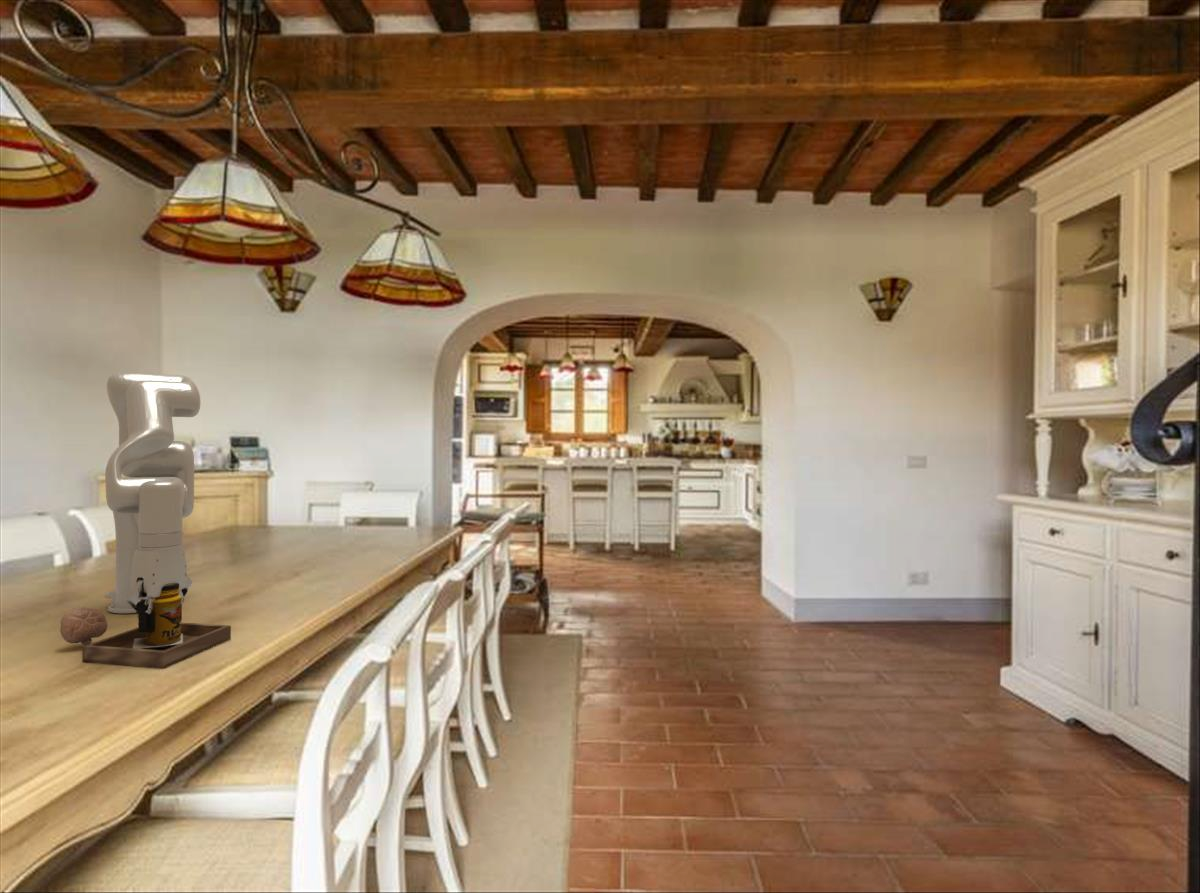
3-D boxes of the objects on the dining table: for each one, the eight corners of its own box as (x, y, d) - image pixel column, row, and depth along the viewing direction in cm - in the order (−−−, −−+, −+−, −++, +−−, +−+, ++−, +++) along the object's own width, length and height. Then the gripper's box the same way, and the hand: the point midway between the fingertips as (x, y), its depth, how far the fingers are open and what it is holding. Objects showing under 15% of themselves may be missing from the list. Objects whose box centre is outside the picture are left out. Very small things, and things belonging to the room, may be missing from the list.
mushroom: (110, 639, 142) (109, 602, 142) (103, 648, 136) (103, 609, 136) (65, 644, 138) (65, 606, 138) (57, 653, 133) (57, 613, 133)
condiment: (183, 644, 135) (183, 585, 134) (132, 650, 130) (132, 590, 130) (182, 634, 141) (183, 578, 141) (134, 640, 136) (134, 582, 136)
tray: (82, 661, 128) (82, 646, 128) (157, 634, 146) (157, 620, 146) (164, 668, 125) (164, 652, 125) (230, 639, 143) (230, 625, 143)
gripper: (177, 533, 144) (177, 614, 145) (107, 546, 127) (107, 638, 128) (208, 534, 143) (207, 616, 144) (141, 548, 126) (141, 641, 127)
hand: (160, 625), depth 136 cm, fingers open, 6 cm apart
